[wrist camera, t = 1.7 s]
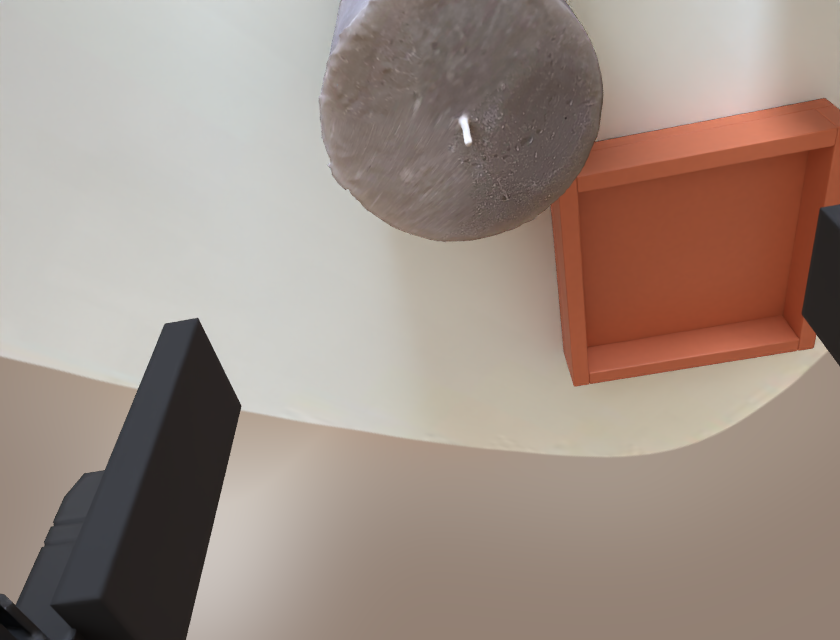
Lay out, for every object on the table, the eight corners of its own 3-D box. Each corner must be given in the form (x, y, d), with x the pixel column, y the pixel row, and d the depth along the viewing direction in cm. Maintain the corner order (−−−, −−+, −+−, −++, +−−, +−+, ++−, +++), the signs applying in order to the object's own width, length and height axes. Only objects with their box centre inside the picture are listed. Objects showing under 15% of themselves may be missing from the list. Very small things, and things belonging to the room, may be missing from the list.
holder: (563, 351, 49) (573, 387, 46) (545, 151, 40) (557, 180, 37) (789, 314, 47) (814, 348, 45) (825, 97, 38) (859, 123, 35)
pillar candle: (572, 40, 36) (661, 177, 24) (408, 139, 39) (416, 304, 27) (478, -156, 31) (534, -104, 19) (297, -25, 34) (248, 92, 22)
